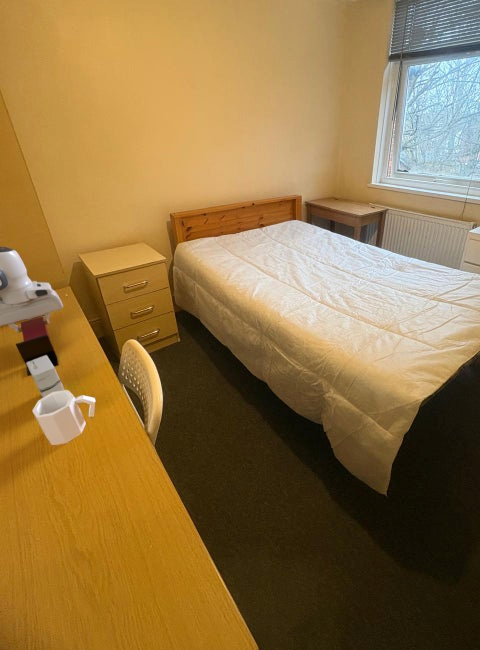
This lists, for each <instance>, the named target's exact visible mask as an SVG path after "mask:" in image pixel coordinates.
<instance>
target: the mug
mask: <svg viewBox="0 0 480 650" xmlns="http://www.w3.org/2000/svg"><path fill="white" fill-rule="evenodd" d="M81 403H84V404H86V405H89V408H88V417H89V418H94V417H95V411H96V397H92V396H89V395H83V394H82V395H79V396H77V397H75V395H74V394H73V393H72V392H71V391H70V390H69V389H64V391H56V392H52V393H50V394H49V395H47V396H45V397H44V398H43V397H42V398H40V399H39V400H37V402H36V404H35V406H34V407H33V408H32V410H31V411H32V413H33V415H34V417H35V419H36V421H37V423H38V425H39V426H40V428H41V430H42V432H43V434H44V436H45V438H46V439H47V441H48V442H49V444H51V446H58V445H64V444H65V445H66V444H68V443H70V441H72V440H74V439H75V438H77V437H79V436H80V435H82V433H83V431H84V429H85V427H86V425H87V423H86V419H85V418H84V415H83V412H82V410H81V409H80V407H79V404H81Z"/></svg>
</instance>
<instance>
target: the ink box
mask: <svg viewBox="0 0 480 650" xmlns="http://www.w3.org/2000/svg"><path fill="white" fill-rule="evenodd" d="M26 364H27V366H28V368H29V370H30V373H31V375H30V376H31V377H32V379H33V381H34V383H35V385H36V387H37V389H38V391H39V394H40V395H41V396H42V398H44V397H45V396H47V395H49V394H50V393H52V392H56V391H64V390H65V388H64V385H63V383H62V381H61V379H60V377H59V375H58V372H57V370H56V367H54V366H53V364H52V363H51V361H50V360H49V358H48V356H47V355H45V356H42V357H40V358H37V359H34V360H32V361H29V362H27V363H26ZM26 364H25V365H26ZM27 366H26V367H27Z"/></svg>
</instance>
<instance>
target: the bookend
mask: <svg viewBox="0 0 480 650" xmlns="http://www.w3.org/2000/svg"><path fill="white" fill-rule="evenodd" d="M49 338H50V336H49V337H48V335H44V336H41V337H37V338H34V339H31V340H27V341H24V340H23V341H20V342H18V343H15V347H16V348H17V351H18V352H19V355H20V357H21V359H22V361H23V363H24V364H25V366H26V375H27V377H29V376H32V375H31V373H30V370H29V368H28V366H27V364H26V363H27V362H29V361H32V360H34V359H37V358H40V357H42V356H45V355H47V356H48V358H49V360H50V361H51V363H52V364H53V366H54V368H56V367H58V366H60V363H59V360H58V356H57V353H56V350H55V348H54V345H53V344H52V342H51V338H50V339H49Z"/></svg>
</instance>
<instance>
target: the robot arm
mask: <svg viewBox="0 0 480 650" xmlns="http://www.w3.org/2000/svg"><path fill="white" fill-rule="evenodd" d="M63 308H64V304H63V302H62V299H61V298H60V296H59V293H57V291H56V290H54V288H52V285H51V284H50V283H49V282H45V281H43V282H41V281H39V282H38V281H37V282H33V280H32V279H31V278H29V276H28V270H27V267H26V266H25V263H24V261H23V259H22V258H21V256H20V254H19V253H18V252H17V251H16V250H15V249H14V248H11V247H7V246H0V327H3V326H6V325H8V327H10V328H11V329H14V330H15V332H16V333H17V334H19V333H22V328H21V324H20V325H16V324H15V323H17V322H22V321H24V320H27V319H28V318H32V317H35V318H37V317H36V316H39V315H42V316H45V318H44V319H43V321H44V323H45V325H46V326H47V325H49V324H51V322H50V318H51V313H53V312H58V311H61V310H63ZM43 314H45V315H43ZM39 317H40V316H39ZM32 319H33V318H32Z"/></svg>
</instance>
